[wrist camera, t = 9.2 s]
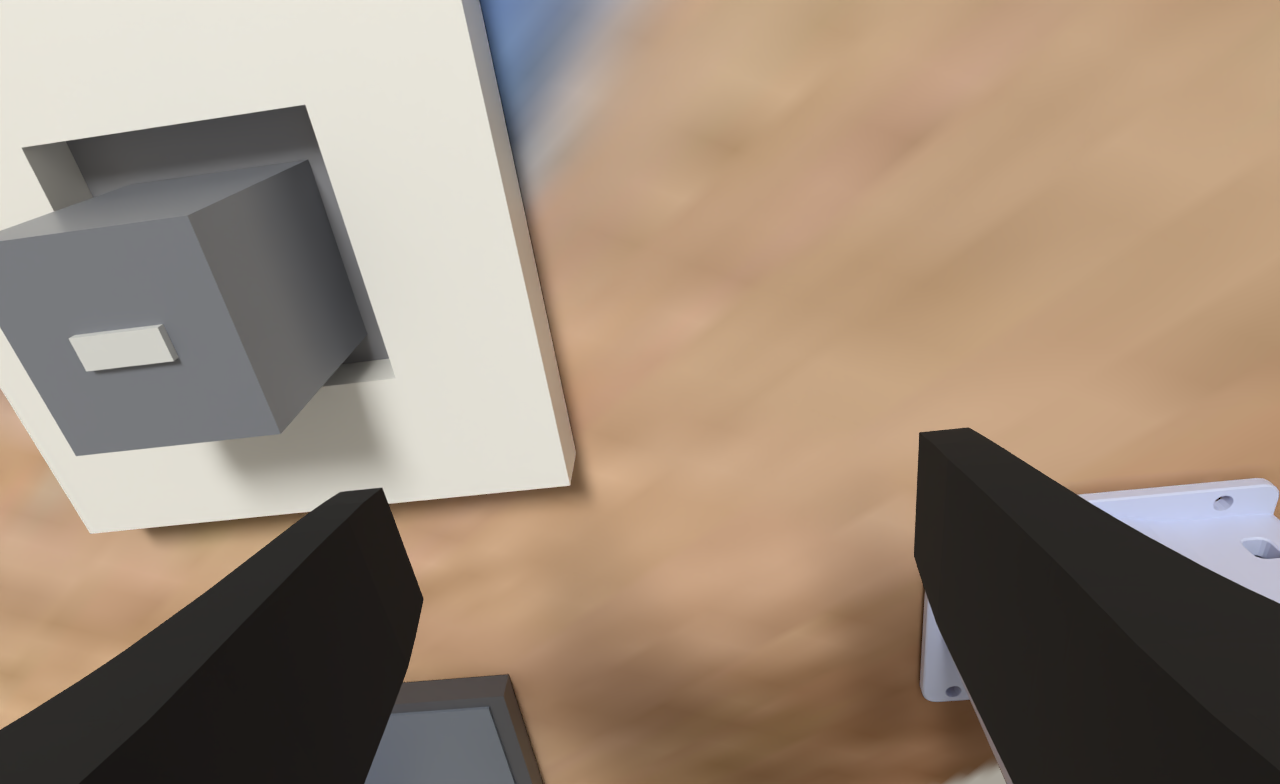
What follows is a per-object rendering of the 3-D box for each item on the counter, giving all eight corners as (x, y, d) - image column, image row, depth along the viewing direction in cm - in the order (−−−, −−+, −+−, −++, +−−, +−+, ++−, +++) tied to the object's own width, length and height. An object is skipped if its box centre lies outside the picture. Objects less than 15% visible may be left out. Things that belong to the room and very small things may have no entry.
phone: (508, 674, 26) (503, 698, 25) (545, 790, 29) (541, 815, 28) (186, 699, 27) (170, 723, 26) (254, 809, 30) (242, 833, 29)
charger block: (308, 159, 17) (182, 217, 13) (367, 334, 19) (277, 438, 15) (129, 184, 18) (-55, 250, 13) (206, 353, 20) (70, 460, 15)
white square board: (451, -130, 15) (428, -143, 13) (576, 452, 21) (570, 485, 20) (-172, -20, 16) (-253, -21, 15) (126, 500, 23) (90, 533, 21)
